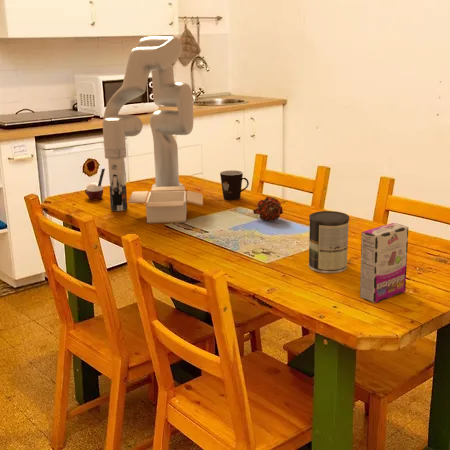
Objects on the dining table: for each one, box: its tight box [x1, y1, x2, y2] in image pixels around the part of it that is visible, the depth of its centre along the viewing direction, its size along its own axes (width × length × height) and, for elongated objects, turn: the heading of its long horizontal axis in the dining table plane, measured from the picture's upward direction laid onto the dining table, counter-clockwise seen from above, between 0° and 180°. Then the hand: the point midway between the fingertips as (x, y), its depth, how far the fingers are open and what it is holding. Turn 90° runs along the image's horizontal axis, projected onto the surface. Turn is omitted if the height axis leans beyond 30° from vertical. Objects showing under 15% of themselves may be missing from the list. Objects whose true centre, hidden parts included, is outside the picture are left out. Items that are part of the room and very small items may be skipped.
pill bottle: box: [109, 184, 128, 212], centre depth 229 cm, size 6×6×11 cm
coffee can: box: [308, 210, 350, 274], centre depth 168 cm, size 10×10×14 cm
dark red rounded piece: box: [252, 196, 284, 222], centre depth 214 cm, size 8×8×12 cm
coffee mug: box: [219, 169, 250, 202], centre depth 241 cm, size 12×9×10 cm
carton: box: [127, 185, 188, 224], centre depth 219 cm, size 28×19×7 cm
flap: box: [186, 190, 204, 207], centre depth 219 cm, size 15×1×6 cm
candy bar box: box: [359, 222, 409, 304], centre depth 149 cm, size 11×5×16 cm, turn 126°
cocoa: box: [84, 168, 106, 200], centre depth 245 cm, size 10×6×12 cm, turn 43°
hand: (118, 202), depth 230 cm, fingers closed on pill bottle, 6 cm apart
